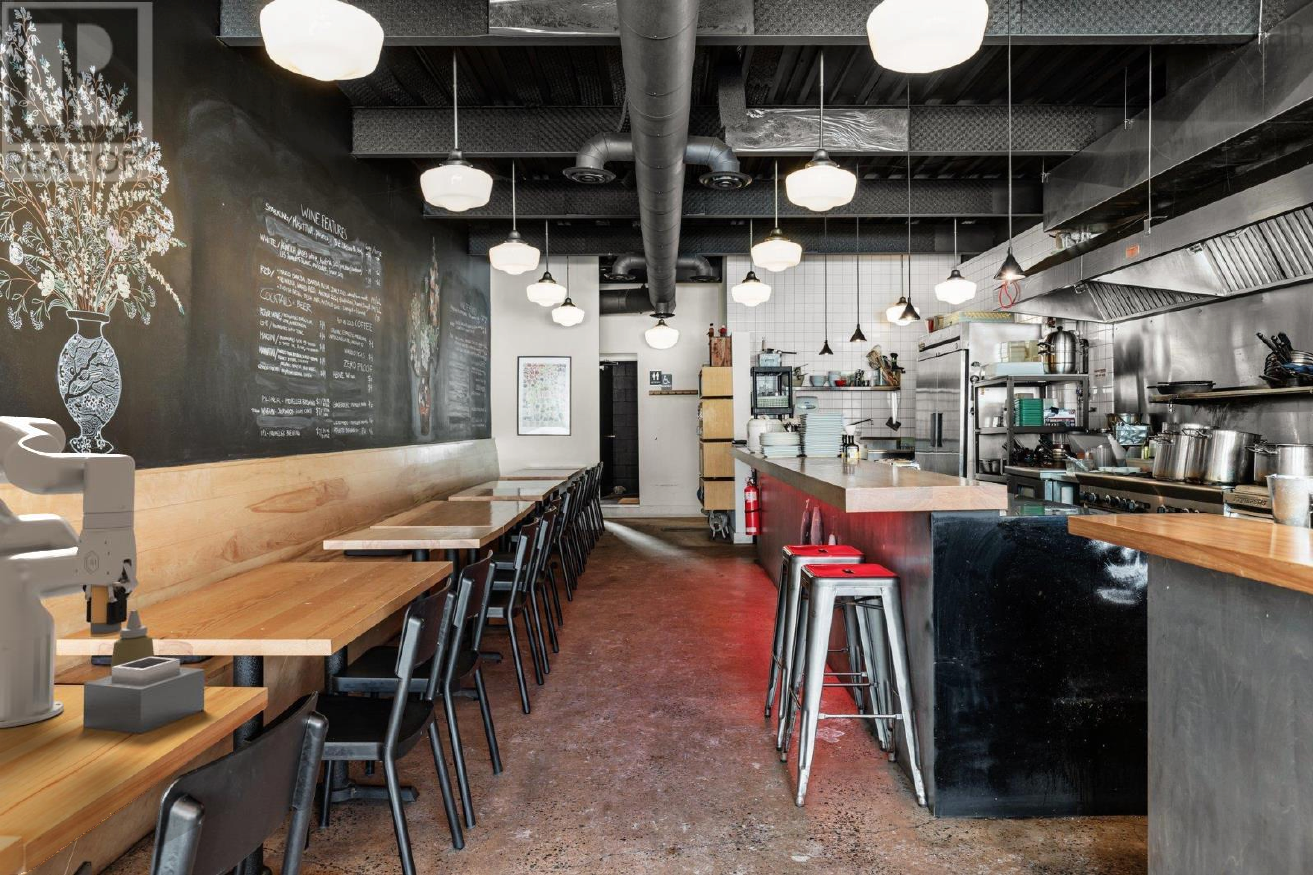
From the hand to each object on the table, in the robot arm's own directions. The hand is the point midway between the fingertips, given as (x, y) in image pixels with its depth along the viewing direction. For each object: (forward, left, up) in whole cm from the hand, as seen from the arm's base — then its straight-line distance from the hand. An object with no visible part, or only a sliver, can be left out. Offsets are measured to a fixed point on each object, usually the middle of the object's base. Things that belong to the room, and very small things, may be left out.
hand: (106, 620), depth 131 cm
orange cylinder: (0, 0, -2) cm, 2 cm away
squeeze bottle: (-15, +17, -20) cm, 30 cm away
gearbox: (0, +8, -20) cm, 22 cm away
